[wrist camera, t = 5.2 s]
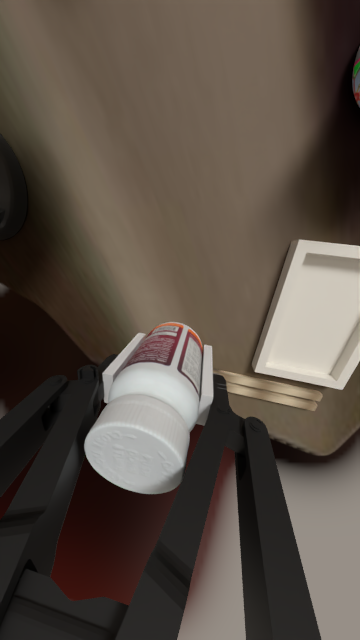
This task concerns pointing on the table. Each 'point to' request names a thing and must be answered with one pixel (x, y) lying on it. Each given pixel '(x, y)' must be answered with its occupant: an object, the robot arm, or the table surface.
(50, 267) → the table surface
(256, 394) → the tongs
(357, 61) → the mug
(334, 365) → the tray
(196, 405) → the pill bottle
